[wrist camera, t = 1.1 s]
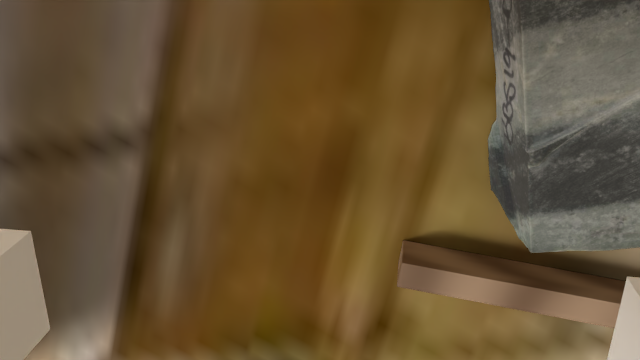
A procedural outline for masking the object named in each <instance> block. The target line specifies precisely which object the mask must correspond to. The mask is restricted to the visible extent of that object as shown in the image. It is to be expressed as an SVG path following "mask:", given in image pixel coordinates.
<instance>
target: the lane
mask: <svg viewBox="0 0 640 360" xmlns="http://www.w3.org/2000/svg"><path fill="white" fill-rule="evenodd" d="M625 283H626V281H621V280H616V279H610V278H605V277H599V276H594V275H589V274H583V273H578V272H572V271H567V270H561V269H556V268H551V267H545V266H540V265H534V264H529V263H524V262H518V261H513V260H507V259H502V258H497V257H491V256H486V255H480V254H475V253H470V252H464V251H459V250H453V249H448V248H442V247H437V246H432V245H426V244H421V243H415V242H410V241H405V240H403V244H402V249H401V253H400V258H399V263H398V279H397V287H402V288H407V289H413V290H418V291H423V292H428V293H434V294H439V295H444V296H449V297H454V298H460V299H465V300H470V301H475V302H481V303H486V304H491V305H496V306H501V307H507V308H512V309H517V310H522V311H528V312H533V313H538V314H543V315H548V316H554V317H559V318H564V319H569V320H574V321H580V322H585V323H590V324H595V325H601V326H606V327H611V328H615V325H616V321H617V316H618V312H619V308H620V304H621V300H622V296H623V292H624V287H625Z"/></svg>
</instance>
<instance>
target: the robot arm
mask: <svg viewBox="0 0 640 360" xmlns="http://www.w3.org/2000/svg"><path fill="white" fill-rule="evenodd" d="M49 330H50V324H49V319H48V314H47V309H46V304H45V299H44V294H43V289H42V284H41V279H40V274H39V269H38V264H37V259H36V254H35V249H34V244H33V239H32V234H31V231H24V230H11V229H0V360H24V359H25V358H26V356H27V355H28V354H29V353H30V352H31V351H32V350H33V349H34V347H35V346H36V345H37V344H38V343H39V342H40V341H41V339H42V338H43V337H44V336H45V335H46V334H47V333H48V331H49ZM607 360H640V277H627V279H626V283H625V287H624V292H623V296H622V300H621V304H620V308H619V312H618V316H617V321H616V325H615V329H614V333H613V337H612V341H611V345H610V350H609V354H608V358H607Z"/></svg>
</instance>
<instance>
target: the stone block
mask: <svg viewBox="0 0 640 360" xmlns="http://www.w3.org/2000/svg"><path fill="white" fill-rule="evenodd" d="M489 5H490V11H491V26H492V39H493V51H494V58H495V67H496V105H497V107H496V112H497V118H496V121H495V122H494V123H493V125H492V129H491V132H490V135H489V138H488V150H489V158H488V159H489V171H490V183H491V190H492V191H493V192H494V194H495V195H496V197H497V198H498V200H499V202H500V204H501V206H502V207H503V209H504V211H505V213H506V215H507V217H508V219H509V220H510V222H511V224H512V225H513V227H514V229H515V231H516V233H517V235H518V237H519V239H520V240H521V241H523V243H524V244H525V246H526V247H527V248H528V249H529V251H530V252H531V253H541V252H559V251H604V250H616V249H627V248H637V247H640V0H489Z"/></svg>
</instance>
